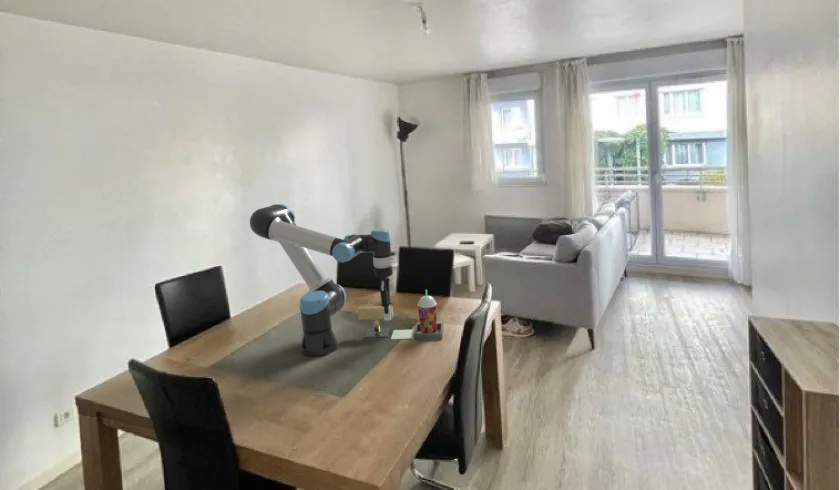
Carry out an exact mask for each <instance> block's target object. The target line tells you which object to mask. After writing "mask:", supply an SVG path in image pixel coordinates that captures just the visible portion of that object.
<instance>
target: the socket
mask: <svg viewBox="0 0 840 490" xmlns="http://www.w3.org/2000/svg"><path fill="white" fill-rule="evenodd" d="M414 330H415V331H414V339H413V340H417V341H418V340H420V341H421V340H442V339H443V334H444V322H437V330H440V332H436V333H422V332H420V333H418V331H421V327H420V323H416V324H415V327H414Z"/></svg>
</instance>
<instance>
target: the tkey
mask: <svg viewBox="0 0 840 490" xmlns="http://www.w3.org/2000/svg"><path fill="white" fill-rule="evenodd" d="M390 312H391V320H393V319H394V307H393V305H390ZM357 314H358V317H357V318H358V321H363V320H373V328H374V331H375V332H379V331H380V328H381V326H380V320H384V311H383V306H381V305H376V306H375V305H374V306H373V305H371V306H366V305H365V306H358V308H357Z"/></svg>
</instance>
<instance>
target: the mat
mask: <svg viewBox="0 0 840 490" xmlns="http://www.w3.org/2000/svg"><path fill="white" fill-rule="evenodd" d="M414 331H415V329H394V330H393V331H392V335H391V337H390V341H391V340H392V341H393V340H394V341H398V340H402V341H403V340H414Z"/></svg>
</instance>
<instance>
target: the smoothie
mask: <svg viewBox="0 0 840 490" xmlns="http://www.w3.org/2000/svg"><path fill="white" fill-rule="evenodd" d="M437 305H438V303H437V302H436V300H435V298H434V297H433V296H431V295H428V290H427V289H425V295H423V296H422V297H420V299H419V300H418V303H417V311H418V317H419V324H420V327H421V330H420V333H437V330H438V329H437V323H438V322H437V319H438V318H437V315H438V311H437V310H438V308H437V307H438V306H437Z"/></svg>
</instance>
